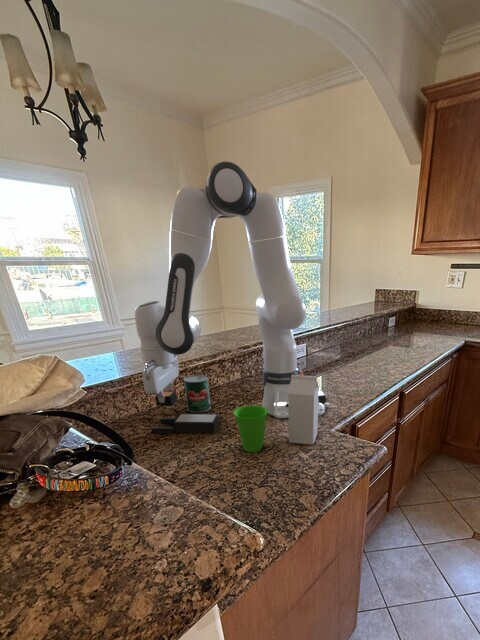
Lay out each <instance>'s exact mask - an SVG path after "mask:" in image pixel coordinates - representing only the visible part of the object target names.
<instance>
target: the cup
mask: <svg viewBox="0 0 480 640" xmlns="http://www.w3.org/2000/svg"><path fill="white" fill-rule="evenodd" d="M267 413H268V410H267V409H266V408H265V407H262V405H257V404H255V405H253V404H251V405H250V404H249V405H243V406H240V407H237V408H236V409H234V410H233V416H235V420H236V425H237V428H238V432H239V435H240V440H241V444H242V447H243V449H244V451H245V452H248V453H256V452H259V451H261V450H262V448H263V445H264V438H265V429H266V421H267V415H268V414H267Z"/></svg>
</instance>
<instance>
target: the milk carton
mask: <svg viewBox="0 0 480 640" xmlns="http://www.w3.org/2000/svg"><path fill="white" fill-rule="evenodd" d="M319 387H320V386H319V383H318V377H317V376H310V375H304V376H298V375H291V382H290V387H289V392H288V412H289V418H288V442H289V443H292V444H301V445H311V446H313V445H314V443H315V441H316V438H317V437H318V429H319V428H318V427H319V422H318V421H319V416H318V394H319V391H320V390H319Z"/></svg>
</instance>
